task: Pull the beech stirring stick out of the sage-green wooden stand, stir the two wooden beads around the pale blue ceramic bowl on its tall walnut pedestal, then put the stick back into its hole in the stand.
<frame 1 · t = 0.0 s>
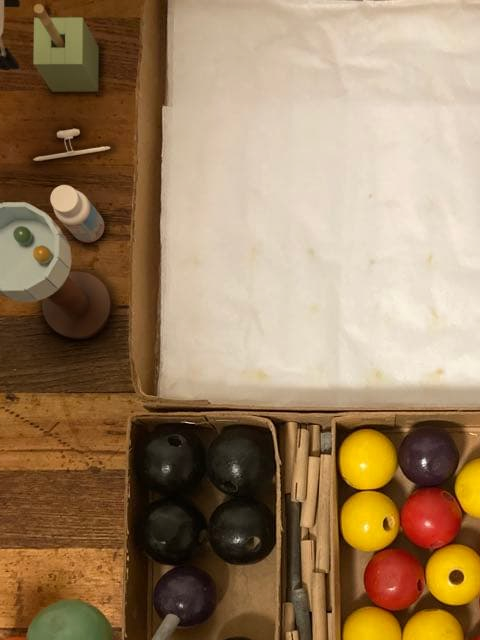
hand: (9, 36, 126), 26 cm above the table, tool pointing down, fingers open, 9 cm apart
yellow bead: (42, 254, 127), point 23 cm above the table, touching bowl
pedestal: (78, 306, 150), on the table
stand: (75, 69, 153), on the table
bowl: (27, 259, 129), resting on pedestal
picture light: (71, 145, 152), on the table
stick: (58, 40, 145), in the stand
green bead: (22, 235, 128), point 23 cm above the table, touching bowl
pill bottle: (88, 227, 151), on the table
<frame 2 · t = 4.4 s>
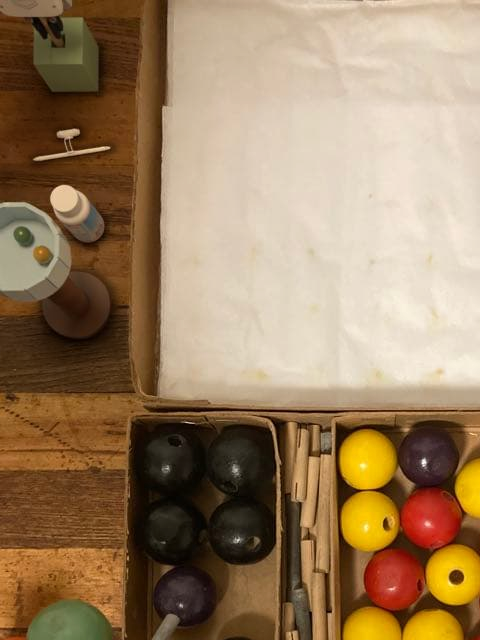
hand: (52, 30, 142), 11 cm above the table, tool pointing down, fingers closed on stick, 1 cm apart
stick: (58, 40, 145), in the stand, touching gripper
everything else where it was.
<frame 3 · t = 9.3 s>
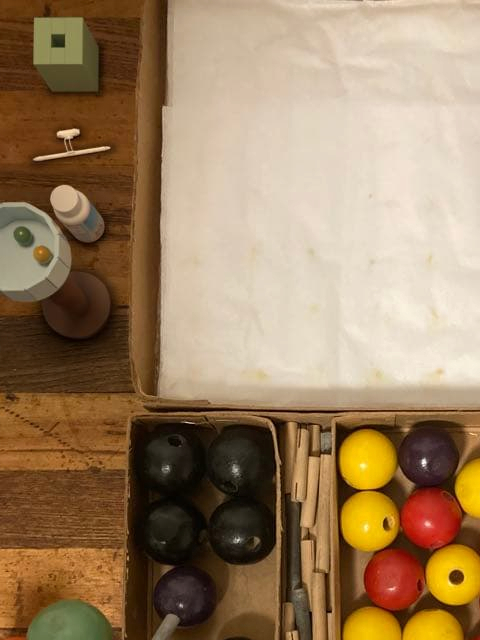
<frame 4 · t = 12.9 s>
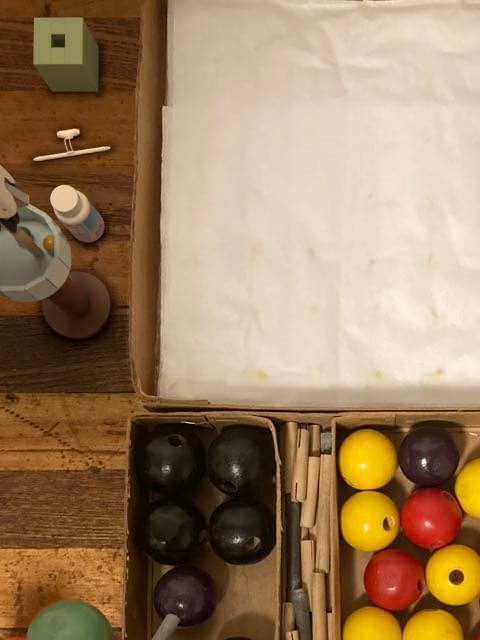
hand: (6, 222, 117), 33 cm above the table, tool pointing down, fingers closed on stick, 1 cm apart
yellow bead: (52, 244, 127), point 23 cm above the table, tilted 93°, touching bowl
stick: (14, 229, 120), in the bowl, point 30 cm above the table, touching gripper
everything else where it was.
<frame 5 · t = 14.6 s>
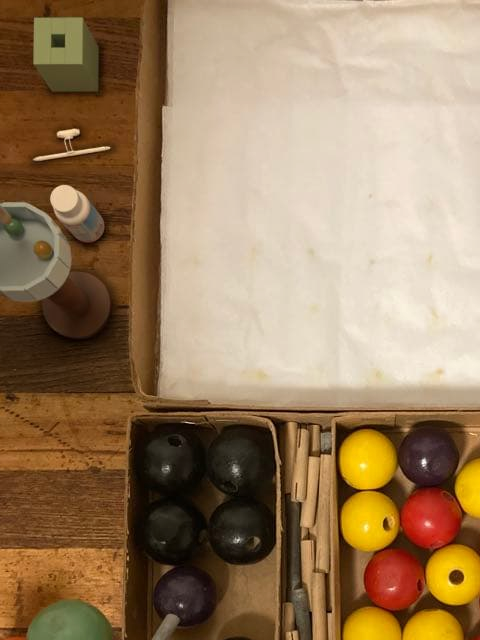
yellow bead: (42, 249, 127), point 23 cm above the table, tilted 28°, touching bowl
green bead: (13, 226, 128), point 23 cm above the table, tilted 120°, touching bowl
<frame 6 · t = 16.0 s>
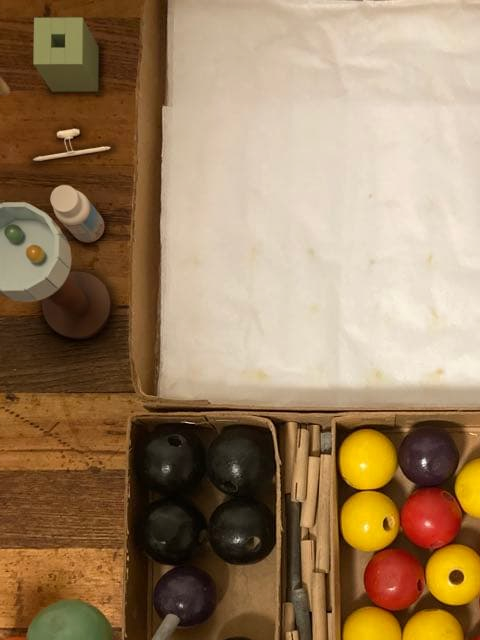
yellow bead: (35, 253, 127), point 23 cm above the table, tilted 39°, touching bowl
green bead: (13, 233, 128), point 23 cm above the table, tilted 81°, touching bowl
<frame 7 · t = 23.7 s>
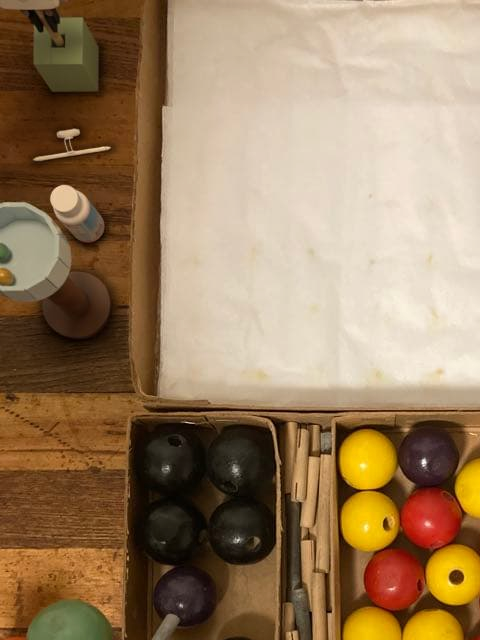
hand: (48, 23, 141), 12 cm above the table, tool pointing down, fingers closed on stick, 1 cm apart
yellow bead: (4, 277, 127), point 23 cm above the table, tilted 63°, touching bowl
stick: (54, 33, 143), in the stand, point 10 cm above the table, touching gripper
green bead: (0, 251, 127), point 23 cm above the table, tilted 129°, touching bowl
everything else where it was.
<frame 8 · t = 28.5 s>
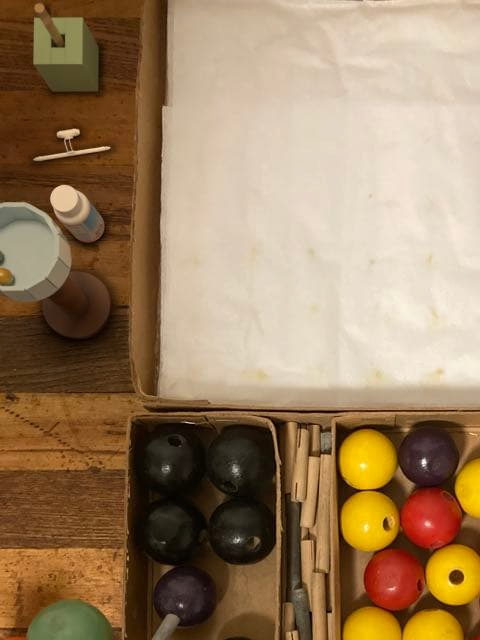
stick: (58, 40, 145), in the stand
at the end: yellow bead moved 6.7 cm from its start; yellow bead inside the target area on the bowl (4.4 cm from its centre), point 1.9 cm above the bowl's base; stick 0.1 cm off-centre in the stand, point 8.0 cm above the stand's base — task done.
